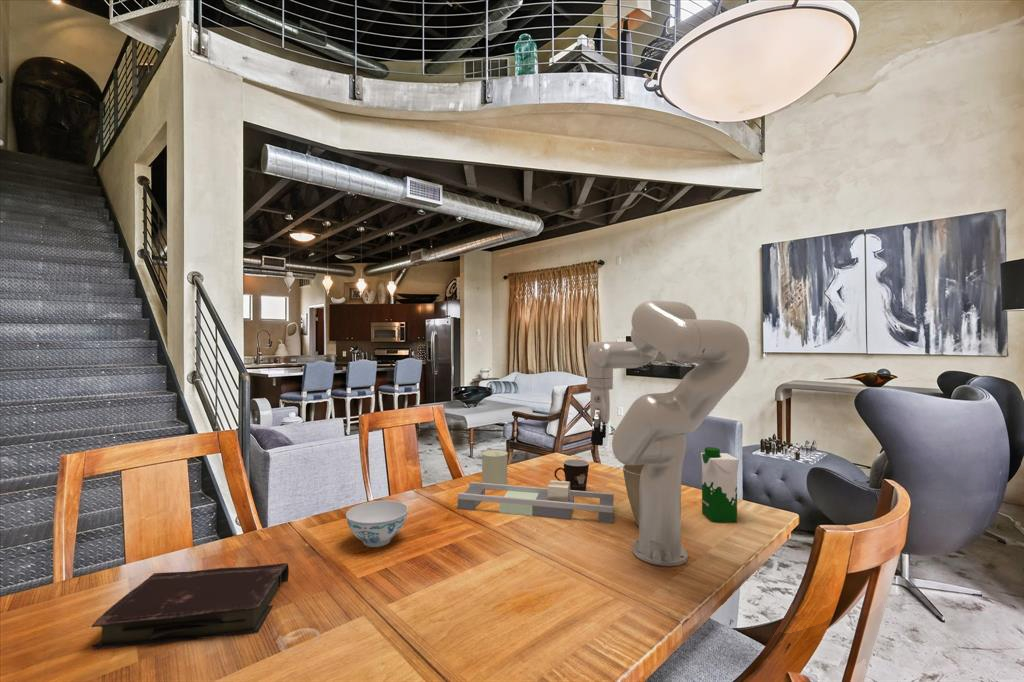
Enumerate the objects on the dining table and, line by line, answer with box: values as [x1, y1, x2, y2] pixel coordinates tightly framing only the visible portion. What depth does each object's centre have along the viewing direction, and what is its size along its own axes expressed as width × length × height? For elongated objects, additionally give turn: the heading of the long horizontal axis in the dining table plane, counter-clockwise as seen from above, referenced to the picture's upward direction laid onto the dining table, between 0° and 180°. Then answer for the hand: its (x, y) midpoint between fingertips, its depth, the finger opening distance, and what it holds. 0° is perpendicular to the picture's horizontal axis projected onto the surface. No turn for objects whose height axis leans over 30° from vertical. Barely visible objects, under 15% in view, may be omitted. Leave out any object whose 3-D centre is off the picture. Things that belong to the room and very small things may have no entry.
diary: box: [90, 562, 290, 650], centre depth 84 cm, size 19×25×5 cm
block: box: [547, 479, 570, 502], centre depth 136 cm, size 6×6×5 cm
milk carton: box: [700, 446, 740, 523], centre depth 131 cm, size 9×9×20 cm
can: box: [481, 449, 509, 491], centre depth 159 cm, size 9×9×12 cm
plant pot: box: [622, 464, 644, 527], centre depth 125 cm, size 15×15×16 cm
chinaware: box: [345, 499, 409, 548], centre depth 114 cm, size 15×15×8 cm
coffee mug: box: [554, 458, 590, 491], centre depth 153 cm, size 12×9×10 cm
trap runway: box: [457, 481, 615, 524], centre depth 137 cm, size 12×46×4 cm, turn 77°
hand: (598, 441), depth 134 cm, fingers open, 9 cm apart
